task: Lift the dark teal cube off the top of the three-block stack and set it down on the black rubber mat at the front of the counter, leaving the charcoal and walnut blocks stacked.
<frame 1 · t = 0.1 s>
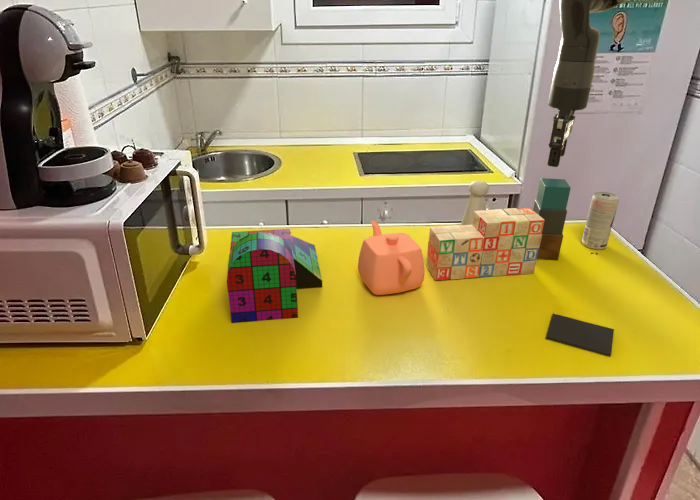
hand: (555, 160, 112), 19 cm above the counter, tool pointing down, fingers open, 8 cm apart
teal top block: (550, 205, 110), point 11 cm above the counter, touching charcoal middle block
charcoal middle block: (545, 228, 112), point 6 cm above the counter, touching teal top block, walnut base block
beige tapered round-topped piece: (472, 235, 123), on the counter
energy drink: (593, 245, 119), on the counter
checkered arched block: (278, 283, 103), on the counter
teapot: (388, 281, 104), on the counter
stack of blocks: (479, 270, 108), on the counter
rubber mat: (579, 335, 88), on the counter
walnut base block: (541, 253, 115), on the counter, touching charcoal middle block
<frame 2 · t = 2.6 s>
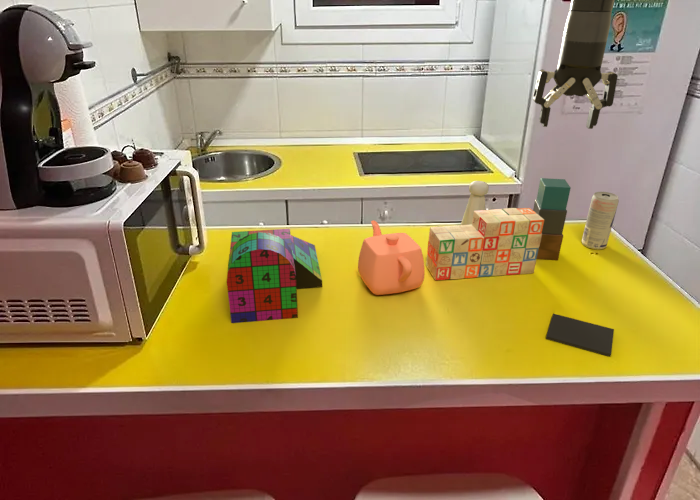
hand: (566, 126, 102), 28 cm above the counter, tool pointing down, fingers open, 8 cm apart
nothing on the counter moved.
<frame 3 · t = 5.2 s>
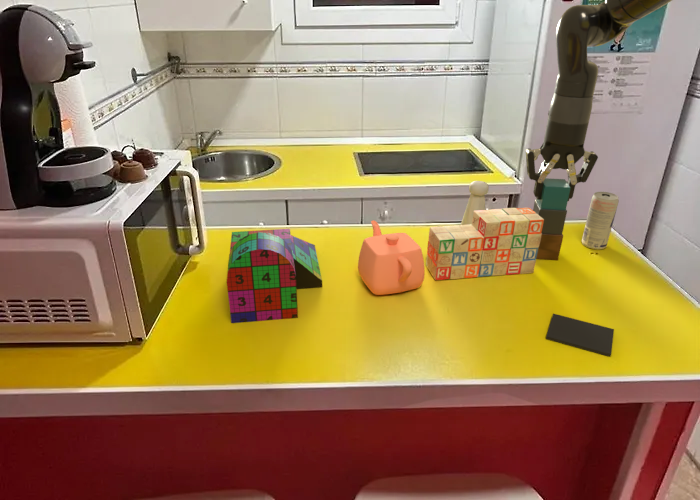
hand: (552, 198, 109), 13 cm above the counter, tool pointing down, fingers closed on teal top block, 5 cm apart
teal top block: (550, 205, 110), point 11 cm above the counter, touching charcoal middle block, gripper
everything else where it was.
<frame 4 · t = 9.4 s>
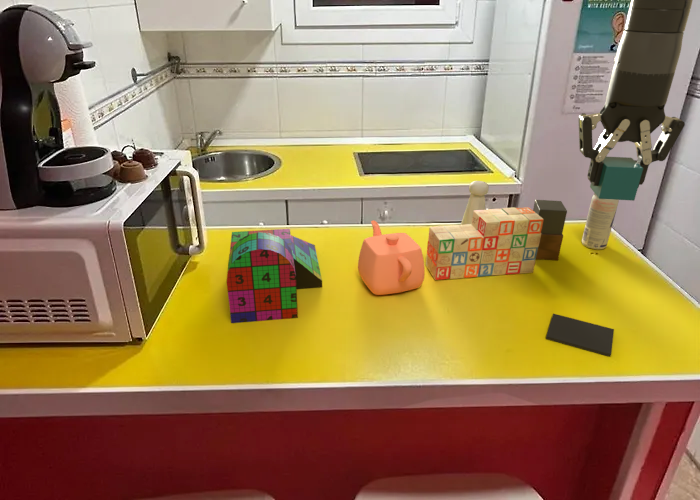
hand: (613, 184, 78), 26 cm above the counter, tool pointing down, fingers closed on teal top block, 5 cm apart
teal top block: (611, 193, 79), point 25 cm above the counter, touching gripper
charcoal middle block: (545, 228, 112), point 6 cm above the counter, touching walnut base block
everything else where it was.
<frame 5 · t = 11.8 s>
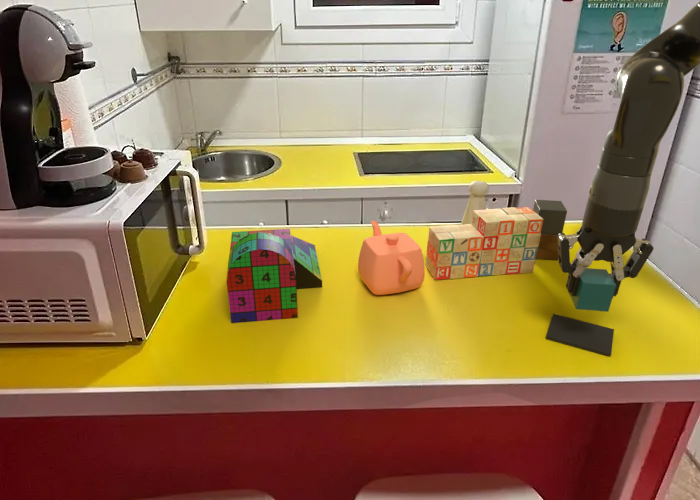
hand: (590, 294, 85), 8 cm above the counter, tool pointing down, fingers closed on teal top block, 5 cm apart
teal top block: (587, 302, 85), point 7 cm above the counter, touching gripper
everything else where it was.
when the fingers open (2 cm above the counter, at t = 13.5 s): teal top block stays where it is, resting on rubber mat.
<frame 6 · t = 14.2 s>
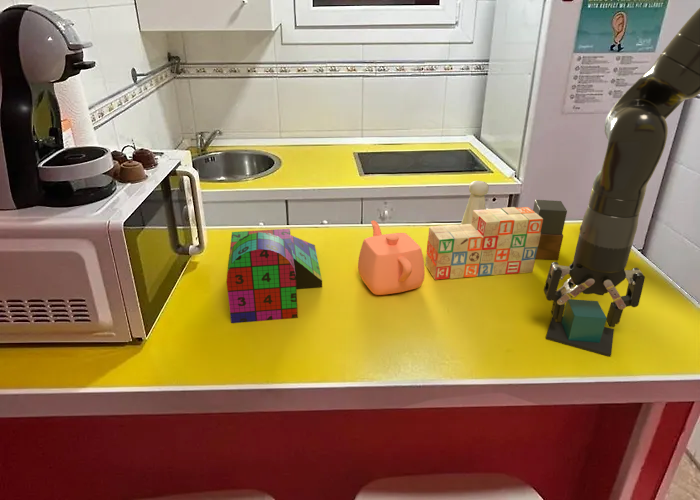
hand: (583, 322, 87), 3 cm above the counter, tool pointing down, fingers open, 8 cm apart
teal top block: (580, 332, 88), point 1 cm above the counter, touching rubber mat
everything else where it was.
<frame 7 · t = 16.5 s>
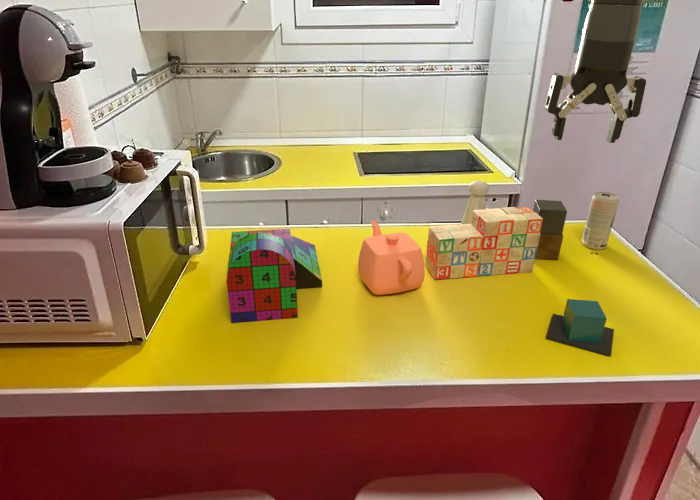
hand: (584, 140, 87), 30 cm above the counter, tool pointing down, fingers open, 8 cm apart
nothing on the counter moved.
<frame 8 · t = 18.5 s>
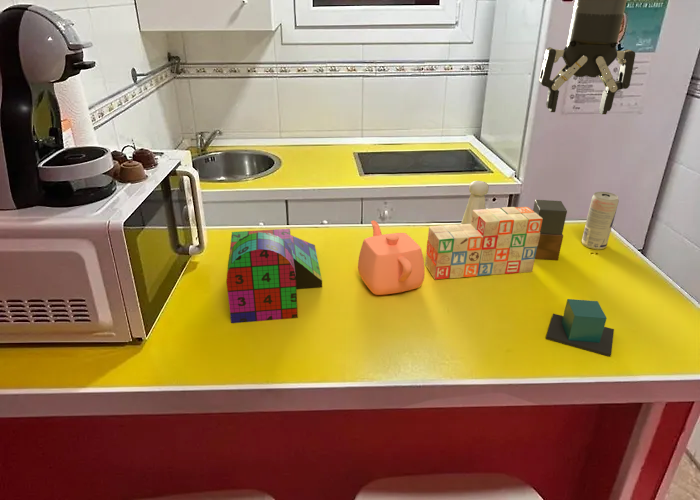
hand: (577, 112, 91), 33 cm above the counter, tool pointing down, fingers open, 8 cm apart
nothing on the counter moved.
at the end: teal top block 0.1 cm off-centre on the rubber mat, point 0.6 cm above the rubber mat's base; teal top block touching rubber mat; charcoal middle block 0.0 cm off-centre on the walnut base block, point 6.0 cm above the walnut base block's base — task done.
